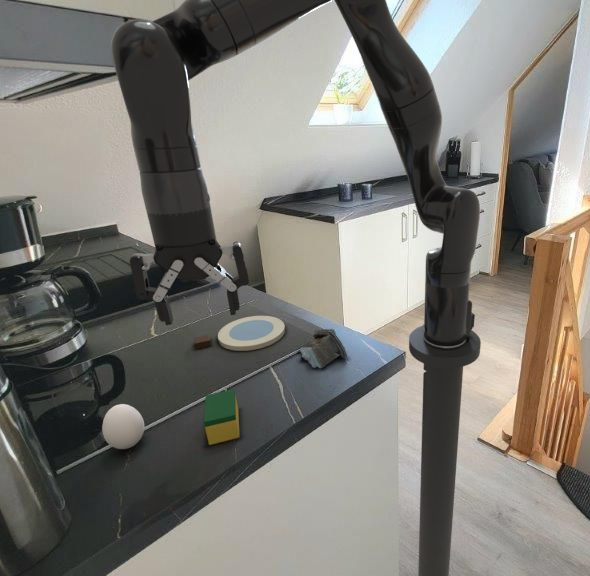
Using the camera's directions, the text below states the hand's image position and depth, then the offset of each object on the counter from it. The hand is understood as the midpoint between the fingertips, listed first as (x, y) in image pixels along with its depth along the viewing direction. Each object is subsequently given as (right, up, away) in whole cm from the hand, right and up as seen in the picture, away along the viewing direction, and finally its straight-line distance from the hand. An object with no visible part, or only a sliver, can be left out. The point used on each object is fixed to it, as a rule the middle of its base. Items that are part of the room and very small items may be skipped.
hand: (202, 317), depth 59 cm
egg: (-13, -20, +4) cm, 25 cm away
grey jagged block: (+12, -10, +27) cm, 32 cm away
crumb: (-14, -7, +32) cm, 36 cm away
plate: (-5, -7, +36) cm, 37 cm away
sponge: (0, -18, +8) cm, 20 cm away
